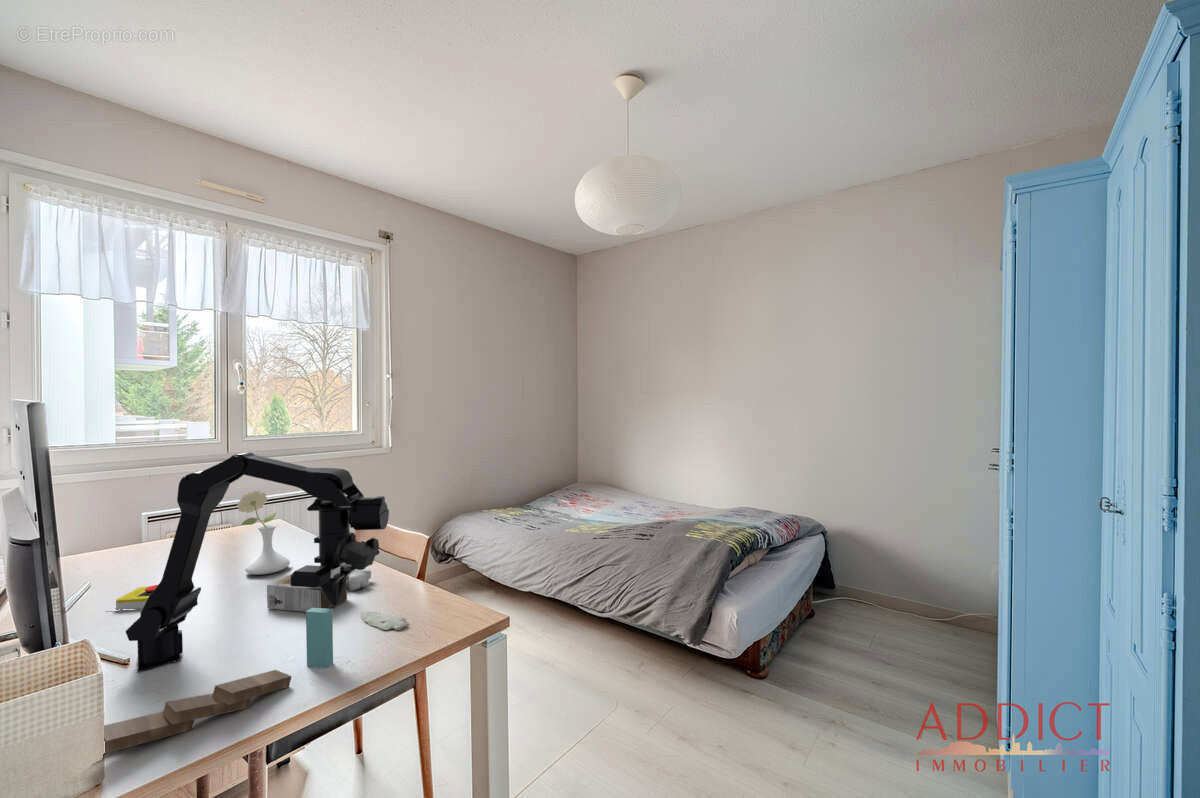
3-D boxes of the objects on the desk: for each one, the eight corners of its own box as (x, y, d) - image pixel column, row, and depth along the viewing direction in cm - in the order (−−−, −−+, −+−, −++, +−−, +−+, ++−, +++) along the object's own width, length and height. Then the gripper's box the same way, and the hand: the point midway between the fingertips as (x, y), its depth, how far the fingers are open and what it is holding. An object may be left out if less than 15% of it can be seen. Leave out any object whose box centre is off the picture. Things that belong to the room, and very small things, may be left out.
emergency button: (170, 592, 129) (103, 596, 126) (171, 609, 129) (103, 614, 126) (193, 578, 138) (131, 582, 136) (194, 594, 138) (131, 598, 136)
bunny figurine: (344, 581, 135) (320, 563, 145) (343, 600, 136) (319, 580, 145) (378, 571, 143) (354, 554, 152) (377, 589, 143) (353, 571, 152)
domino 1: (191, 729, 82) (102, 754, 73) (181, 717, 85) (93, 739, 76) (195, 718, 83) (106, 741, 73) (184, 706, 85) (97, 727, 76)
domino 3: (288, 686, 94) (228, 704, 84) (272, 679, 96) (211, 697, 86) (291, 676, 95) (231, 693, 85) (275, 669, 96) (215, 685, 86)
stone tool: (414, 627, 119) (371, 611, 126) (414, 618, 119) (371, 603, 126) (394, 639, 114) (350, 622, 121) (394, 629, 114) (350, 613, 121)
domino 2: (249, 707, 88) (171, 724, 79) (239, 698, 90) (162, 713, 82) (252, 696, 88) (175, 711, 80) (241, 687, 91) (166, 701, 82)
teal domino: (327, 667, 101) (326, 612, 100) (306, 666, 101) (305, 611, 101) (333, 662, 102) (332, 608, 102) (313, 661, 103) (312, 607, 103)
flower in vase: (288, 562, 162) (286, 484, 162) (291, 572, 153) (290, 490, 152) (237, 571, 154) (236, 489, 154) (238, 582, 145) (237, 495, 145)
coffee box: (293, 571, 136) (347, 575, 133) (294, 595, 136) (348, 599, 133) (265, 584, 127) (322, 588, 124) (266, 610, 127) (323, 614, 124)
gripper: (341, 545, 96) (341, 627, 96) (394, 520, 114) (395, 589, 115) (287, 543, 97) (288, 623, 98) (348, 518, 116) (349, 586, 116)
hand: (335, 604), depth 106 cm, fingers closed
